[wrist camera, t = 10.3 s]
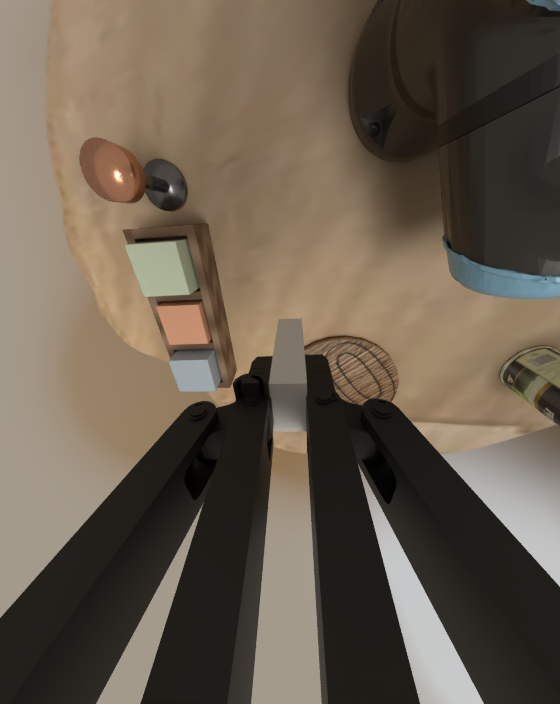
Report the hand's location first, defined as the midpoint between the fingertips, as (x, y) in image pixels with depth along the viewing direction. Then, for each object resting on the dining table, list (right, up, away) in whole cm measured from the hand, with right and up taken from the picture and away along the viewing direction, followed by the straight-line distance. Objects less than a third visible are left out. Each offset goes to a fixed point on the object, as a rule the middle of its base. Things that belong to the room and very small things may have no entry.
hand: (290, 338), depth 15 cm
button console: (-16, +7, +28) cm, 33 cm away
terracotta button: (-16, +5, +25) cm, 30 cm away
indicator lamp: (-17, +23, +18) cm, 34 cm away
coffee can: (+50, -4, +30) cm, 58 cm away
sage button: (-17, +12, +19) cm, 28 cm away
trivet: (+12, -8, +36) cm, 39 cm away
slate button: (-16, -3, +28) cm, 32 cm away
